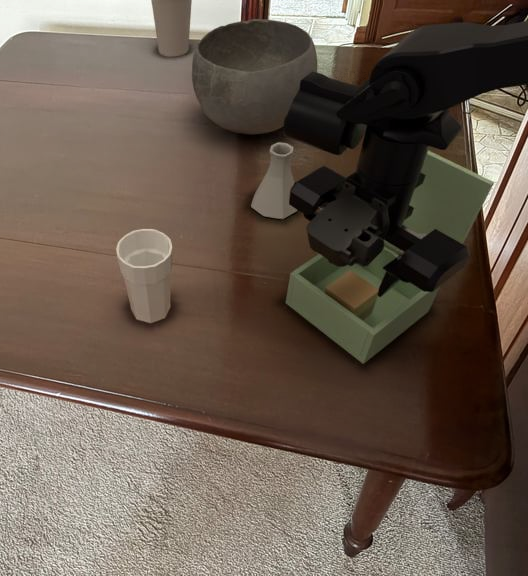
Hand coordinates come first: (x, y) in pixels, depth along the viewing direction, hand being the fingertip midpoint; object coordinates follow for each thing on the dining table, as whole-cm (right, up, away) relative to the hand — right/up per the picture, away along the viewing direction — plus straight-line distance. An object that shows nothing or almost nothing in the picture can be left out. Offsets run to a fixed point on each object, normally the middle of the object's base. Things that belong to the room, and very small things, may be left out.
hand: (356, 277), depth 66 cm
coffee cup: (-18, +51, +57) cm, 78 cm away
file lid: (+6, +8, -1) cm, 10 cm away
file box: (+2, -4, +6) cm, 7 cm away
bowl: (-6, +29, +36) cm, 46 cm away
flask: (-5, +12, +21) cm, 24 cm away
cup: (-24, -4, +9) cm, 26 cm away
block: (0, -4, +5) cm, 6 cm away
